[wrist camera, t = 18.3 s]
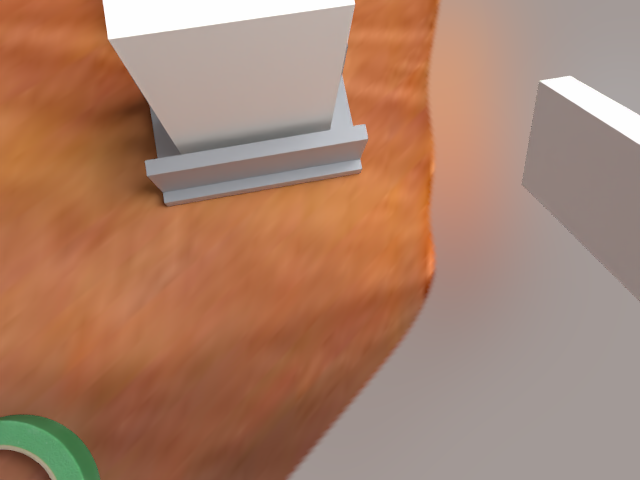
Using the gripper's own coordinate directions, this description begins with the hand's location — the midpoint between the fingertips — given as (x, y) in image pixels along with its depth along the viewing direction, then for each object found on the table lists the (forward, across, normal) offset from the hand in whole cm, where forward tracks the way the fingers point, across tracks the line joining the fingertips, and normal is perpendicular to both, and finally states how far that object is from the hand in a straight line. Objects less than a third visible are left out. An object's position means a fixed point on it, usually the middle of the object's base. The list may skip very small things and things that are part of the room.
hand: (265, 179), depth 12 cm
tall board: (+24, 0, -9) cm, 26 cm away
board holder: (+25, 0, -10) cm, 27 cm away
